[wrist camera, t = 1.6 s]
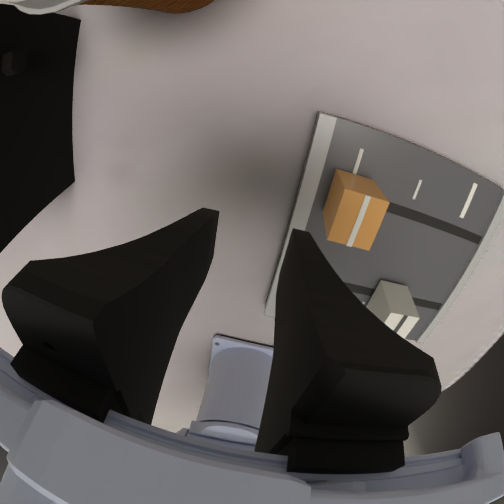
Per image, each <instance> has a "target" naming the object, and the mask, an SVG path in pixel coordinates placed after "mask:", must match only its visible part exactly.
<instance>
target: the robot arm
mask: <svg viewBox="0 0 504 504" xmlns="http://www.w3.org/2000/svg"><path fill="white" fill-rule="evenodd" d="M218 217H219V211H216V210H212V209H207V208H201V209H199V210H197V211H195V212H193V213H191V214H189V215H188V216H186V217H184V218H182V219H180V220H178V221H176V222H174V223H172V224H170V225H168V226H166V227H164V228H162V229H159V230H157V231H155V232H153V233H151V234H149V235H146V236H144V237H141V238H139V239H136V240H133V241H130V242H128V243H125V244H122V245H118V246H114V247H111V248H107V249H104V250H100V251H96V252H92V253H87V254H82V255H76V256H71V257H64V258H56V259H46V260H35V261H30V262H29V263H28V264H27V265H26V266H25V267H24V268H23V269H22V270H21V271H20V272H19V273H18V274H17V275H16V276H15V277H14V278H13V279H12V280H11V281H10V282H9V283H8V284H7V285H6V286H5V288H4V289H3V291H2V302H3V307H4V309H5V312H6V314H7V316H8V318H9V320H10V322H11V324H12V326H13V328H14V330H15V331H16V333H17V335H18V337H19V338H20V340H21V342H22V344H23V346H22V347H21V348H20V350H19V351H18V353H17V354H16V356H15V357H13V356H11V355H10V354H9V353H7V352H6V351H4V350H3V349H1V348H0V445H1V446H2V447H3V448H4V449H5V450H6V451H7V452H8V455H7V460H8V462H9V464H8V466H7V468H6V471H5V473H4V476H3V478H2V480H1V483H0V504H489V503H491V502H492V501H495V500H496V499H498V498H500V497H502V496H504V451H503V446H502V441H501V437H500V433H498V432H497V433H493V434H489V435H485V436H481V437H478V438H476V439H474V440H472V441H470V442H469V443H467V444H466V445H464V446H463V447H462V448H461V449H457V450H452V451H446V452H440V453H434V454H427V455H419V456H411V457H405V456H404V446H403V441H405V440H406V439H408V437H409V432H408V425H409V424H411V423H412V422H413V421H415V420H416V419H417V418H419V417H420V416H421V415H422V414H424V413H425V412H426V411H427V410H429V409H430V407H432V406H433V405H434V404H435V402H436V401H437V399H438V397H439V396H440V394H441V383H440V379H439V376H438V372H437V369H436V365H435V362H434V359H433V358H432V357H431V356H429V355H428V354H426V353H425V352H423V351H422V350H420V349H419V348H417V347H415V346H414V345H412V344H411V343H409V342H408V341H406V340H405V339H404V338H402V337H401V336H400V335H398V334H397V333H396V332H394V331H393V330H392V329H391V328H389V327H388V326H387V325H386V324H385V323H383V322H382V321H381V320H380V319H379V318H378V317H377V316H375V315H374V314H373V313H372V312H371V311H370V310H369V309H368V308H367V307H366V306H365V305H364V304H363V303H362V302H361V301H360V300H359V299H358V298H357V297H356V296H355V295H354V294H353V293H352V291H351V290H350V289H349V288H348V287H347V286H346V285H345V283H344V282H343V281H342V280H341V278H340V277H339V276H338V274H337V273H336V272H335V270H334V269H333V268H332V266H331V265H330V263H329V262H328V261H327V259H326V258H325V256H324V254H323V253H322V251H321V250H320V248H319V247H318V245H317V243H316V242H315V240H314V239H313V237H312V235H311V234H310V232H307V231H303V230H299V229H295V228H293V229H292V232H291V236H290V239H289V243H288V246H287V249H286V253H285V256H284V259H283V263H282V266H281V269H280V273H279V279H278V285H277V291H276V304H275V331H274V348H273V347H268V346H263V345H258V344H254V343H249V342H245V341H241V340H236V339H232V338H228V337H224V336H220V335H215V336H214V337H213V342H212V350H211V357H210V365H209V373H208V382H207V385H206V389H205V392H204V396H203V399H202V403H201V406H200V410H199V413H198V417H197V420H196V421H192V422H191V425H190V429H187V428H183V429H181V430H180V431H178V432H177V433H173V432H170V431H167V430H164V429H161V428H158V427H155V426H152V425H151V423H152V419H153V415H154V411H155V407H156V404H157V400H158V396H159V393H160V389H161V386H162V383H163V379H164V376H165V373H166V370H167V367H168V364H169V361H170V358H171V354H172V352H173V349H174V346H175V343H176V340H177V337H178V335H179V332H180V330H181V327H182V325H183V323H184V321H185V319H186V317H187V315H188V313H189V311H190V309H191V307H192V305H193V303H194V301H195V299H196V297H197V295H198V293H199V291H200V289H201V287H202V285H203V283H204V281H205V279H206V276H207V274H208V271H209V268H210V265H211V262H212V259H213V255H214V247H215V239H216V232H217V225H218Z"/></svg>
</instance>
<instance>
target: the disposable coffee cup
mask: <svg viewBox="0 0 504 504" xmlns="http://www.w3.org/2000/svg"><path fill="white" fill-rule="evenodd" d="M6 1H8V2H11V3H13V4H14V6H16V7H17V8H18V9H19V10H20V11H22V12H25V13H27V14H46V13H53V12H59V11H61V10H63V9H66V8H68V7H71V6H74V5H84V4H87V5H112V6H125V7H133V8H143V9H150V10H157V11H163V12H168V13H184V12H189V11H193V10H196V9H199V8H202V7H204V6H206V5H208V4H209V3H211V2H212V1H214V0H6Z"/></svg>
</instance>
